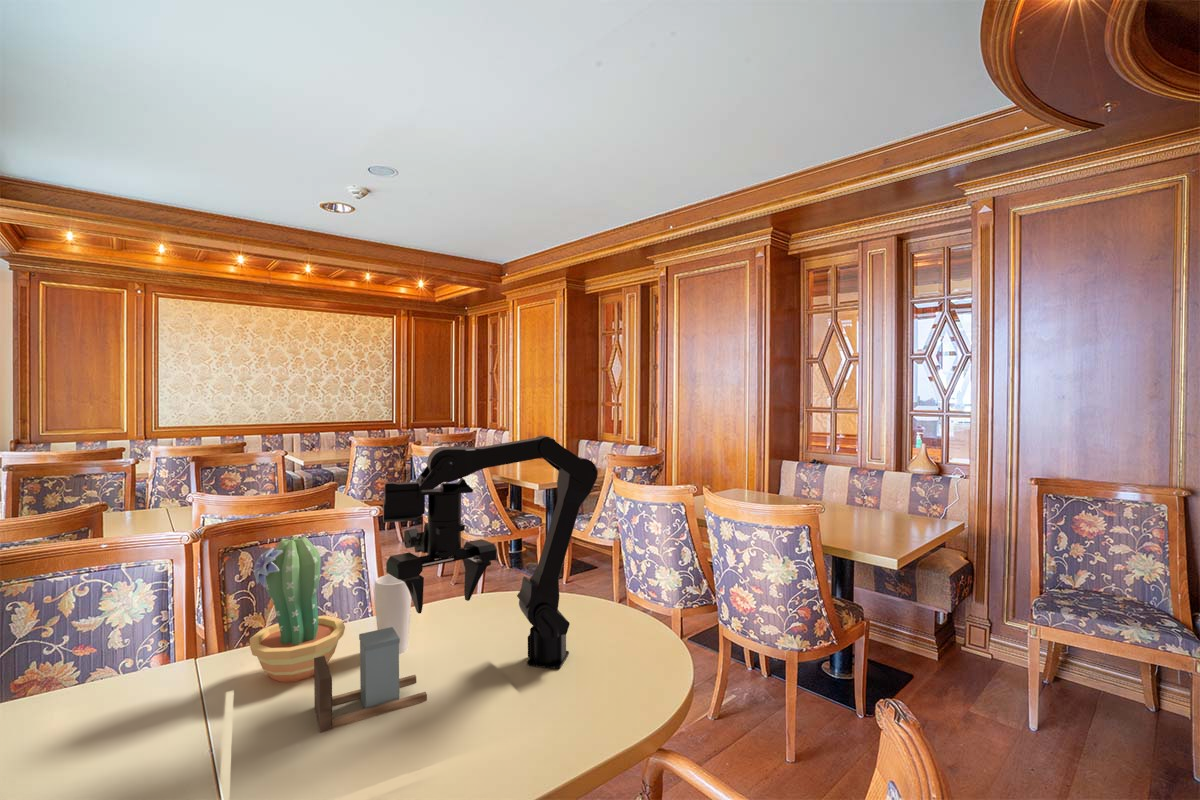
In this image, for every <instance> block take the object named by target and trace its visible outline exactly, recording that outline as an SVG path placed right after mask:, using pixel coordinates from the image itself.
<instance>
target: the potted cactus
mask: <svg viewBox="0 0 1200 800" xmlns="http://www.w3.org/2000/svg"><path fill="white" fill-rule="evenodd" d="M321 561H322V555H320V552H319V551H318V548H316V546H315V545H314V544H313V543H312V542H311V541H310V540H309V539H308V538H307V537H306V536H301V537H298V536H295V535H294V536H292V537H291V538H290V539H288V538H282V539H281V540H280V541H279V542H278V543H277V546H276V548H275V547H272V548H270V549H268V550H266V551H265V552H263V553H262V554H260V556H259V557H258V558H257V560H256V563H255V564H254V566H253V571H252V572H253V576H254V577H255V584H257V585H258V584H259V583H260V584H261V585H262V587H264V588H265V589H266V590H265V591H266V592H267V594H268V596H269V598H270V600H271V601H272V604H273V606H274V610H275V615H276V619H277V623H274V624H272V625H269V626H266V627H263V628H261V629H260V630H259V631H258V632H256V633H255V634H254V635H252V636H251V637H250V638H249V647H250V651H251V652H250V653H251V654H252V656H255V657H257V660H258V662H259V664H260V666H261V668H262V670H263V671H264V672H265V674H267V675H268V676H269V677H270V678H271V679H272V680H275V681H278V682H279V683H280V682H281V683H282V682H283V683H285V682H290V683H291V682H297V681H301V680H304V679H308V678H311V677H312V676H313V677H314V658H317V657H321V656H325V659H326V662H327V664H328V663H329V661H330V660H331V659H332V657H333V656H334V654H335V652H336V648H337V646H338V644H339V640H340V639H341V638H342V637H343V636H344V635H345V634H344V633H345V630H346V625H345V623H344V622H343V619H341V618H338V617H335V616H334V617H333V616H330V615H319V612H318V610H319V609H318V599H317V591H318V588H319V583H320V580H321V564H322V562H321Z"/></svg>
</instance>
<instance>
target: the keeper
mask: <svg viewBox="0 0 1200 800" xmlns="http://www.w3.org/2000/svg"><path fill="white" fill-rule="evenodd" d="M358 637H359V638H358V640H359V662H360V663H359V664H360V665H359V666H360V667H359V668H360V670H359V671H360V672H359V675H360V677H359V678H360V681H359V684H360V688H359V689H361V698H360V701H361V703H362V705H363V709H366V708H369V707H373V706H376V705H380V704H383V703H387V702H390V701H394V700H397V699H400V687H399V679H400V654H399V643H400V638H399V636H398V635H397V633H396V632H395V630H394V629H393V627H390V628H385V629H380V630H371V631H367V632H363V633H359V634H358Z"/></svg>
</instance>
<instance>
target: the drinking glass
mask: <svg viewBox="0 0 1200 800" xmlns="http://www.w3.org/2000/svg"><path fill="white" fill-rule="evenodd" d="M374 609H375V610H374V611H375V619H376V627H377V628H376V629H377V630H380V629H385V628H390V627H393V629H394V630H395V632H396V633H397V635H398V636H399V638H400V643H399V655H401V654H404V653H405V652H407V651H408V649H409V639H410V638H409V637H410V636H409V634H410V622H411V612H412V611H411V609H412V597H411V595H410V592H409V590H408V587H407V586H406V584H405V582H403V581H402V580H398V579H397V578H395V577H393V576H392V575H390V574H389V573H388V574H385V575H382V576H379V577H378V578H376V579H375V580H374Z"/></svg>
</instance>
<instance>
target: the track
mask: <svg viewBox="0 0 1200 800" xmlns="http://www.w3.org/2000/svg"><path fill="white" fill-rule="evenodd" d="M313 677H314V678H313V680H314V684H313V685H314V686H313V687H314V688H313V689H314V695H313V696H314V711H315V716H316V719H317V724H318V730H319V733H320V734H321V733H323V732H328V731H331V730H332V729H334V728H338V727H342V726H345V725H347V724H351V723H355V722H359V721H361V720H364V719H369V718H372V717H375V716H378V715H382V714H386V713H388V712H392V711H395V710H399V709H402V708H406V707H408V706H412V705H415V704H419V703H422V702H426V701H428V693H427V691H423V692H418V693H415V694H413V695H408V696H405V697H401V698H399V699H397V700H394V701H390V702H387V703H383V704H380V705H376V706H373V707H369V708H366V709H364V708H361V709H359V710H356V711H352V712H349V713H346V714H340V715H339V716H335V717H333V706H334V707H335V706H336V705H340V704H344V703H348V702H351V701H355V700H359V699H361V689H360V688H359V689H355V690H351V691H348V692H344V693H341V694H340V693H339V694H337V695H333V677H332V675H331V671H330V668H329V665H328V663H327V662H326V659H325V656H321V657H317V658H314V675H313ZM414 684H417V675H416V674H412V675H407V676H405V677H399V688H402V687H406V686H409V685H414Z"/></svg>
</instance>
